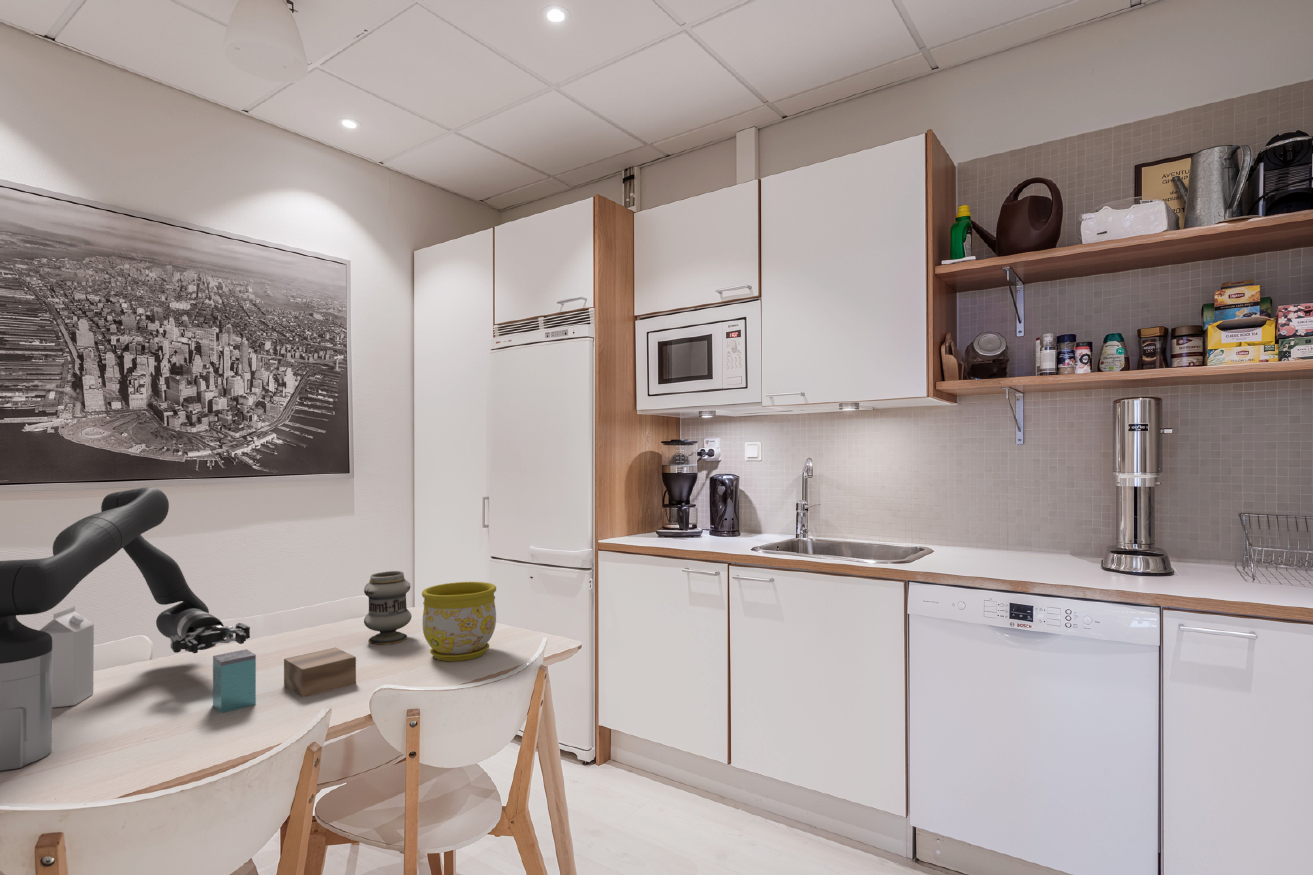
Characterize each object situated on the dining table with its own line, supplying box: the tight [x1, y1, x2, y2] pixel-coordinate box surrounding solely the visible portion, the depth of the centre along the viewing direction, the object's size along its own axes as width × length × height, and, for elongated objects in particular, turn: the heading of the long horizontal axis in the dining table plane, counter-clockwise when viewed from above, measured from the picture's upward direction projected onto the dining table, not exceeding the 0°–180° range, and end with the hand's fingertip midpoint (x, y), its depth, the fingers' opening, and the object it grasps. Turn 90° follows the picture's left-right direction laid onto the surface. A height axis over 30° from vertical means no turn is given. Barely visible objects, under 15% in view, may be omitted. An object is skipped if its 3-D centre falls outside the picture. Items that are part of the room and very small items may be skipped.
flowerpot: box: [421, 581, 497, 662], centre depth 167 cm, size 18×18×16 cm
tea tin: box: [212, 649, 257, 714], centre depth 134 cm, size 6×6×10 cm
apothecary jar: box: [363, 570, 412, 646], centre depth 181 cm, size 12×12×18 cm
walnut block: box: [283, 647, 357, 698], centre depth 146 cm, size 11×11×6 cm
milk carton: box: [38, 606, 95, 709], centre depth 137 cm, size 7×7×19 cm
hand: (219, 643), depth 142 cm, fingers open, 8 cm apart
